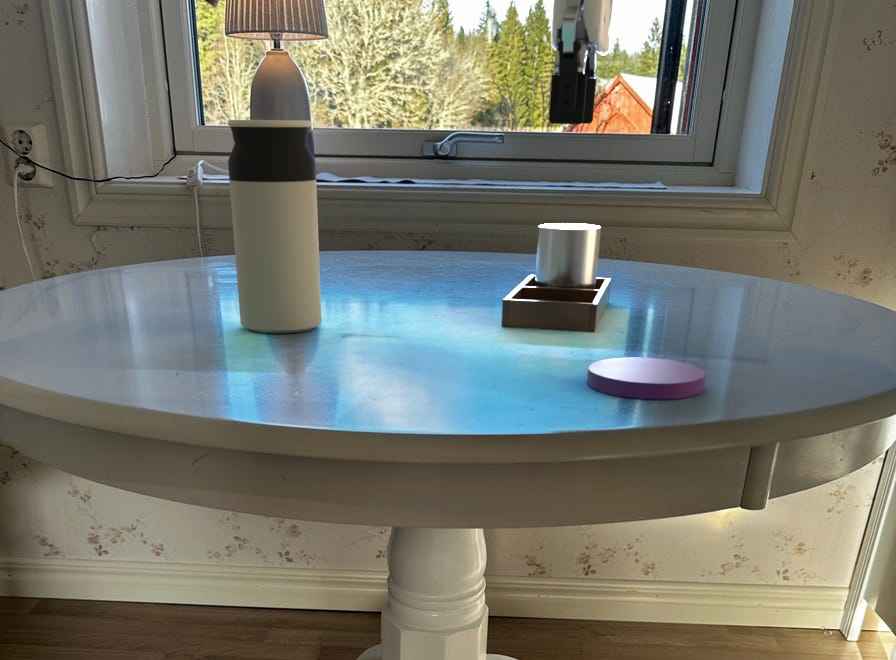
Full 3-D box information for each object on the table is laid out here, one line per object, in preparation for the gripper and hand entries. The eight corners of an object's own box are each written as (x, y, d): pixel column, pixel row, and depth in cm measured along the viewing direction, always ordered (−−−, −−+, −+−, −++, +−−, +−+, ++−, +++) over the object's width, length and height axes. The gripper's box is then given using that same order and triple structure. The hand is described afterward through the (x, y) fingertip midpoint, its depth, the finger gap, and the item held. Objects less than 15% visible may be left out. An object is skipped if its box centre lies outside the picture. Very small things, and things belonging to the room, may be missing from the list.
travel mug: (313, 335, 91) (304, 120, 82) (231, 333, 91) (214, 119, 83) (327, 320, 98) (320, 120, 89) (251, 318, 98) (237, 119, 90)
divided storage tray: (608, 308, 106) (611, 278, 104) (594, 338, 91) (597, 304, 89) (527, 303, 108) (529, 274, 106) (500, 332, 93) (502, 299, 91)
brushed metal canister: (596, 303, 105) (603, 224, 101) (590, 313, 99) (598, 230, 95) (538, 300, 106) (543, 222, 102) (529, 310, 101) (534, 228, 97)
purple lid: (703, 375, 78) (705, 361, 77) (703, 403, 70) (706, 387, 70) (592, 368, 80) (593, 354, 79) (581, 394, 72) (582, 379, 72)
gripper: (625, -113, 78) (602, 125, 86) (636, -77, 93) (615, 123, 101) (534, -110, 80) (520, 123, 88) (559, -75, 94) (545, 122, 103)
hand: (571, 123), depth 94 cm, fingers open, 9 cm apart
